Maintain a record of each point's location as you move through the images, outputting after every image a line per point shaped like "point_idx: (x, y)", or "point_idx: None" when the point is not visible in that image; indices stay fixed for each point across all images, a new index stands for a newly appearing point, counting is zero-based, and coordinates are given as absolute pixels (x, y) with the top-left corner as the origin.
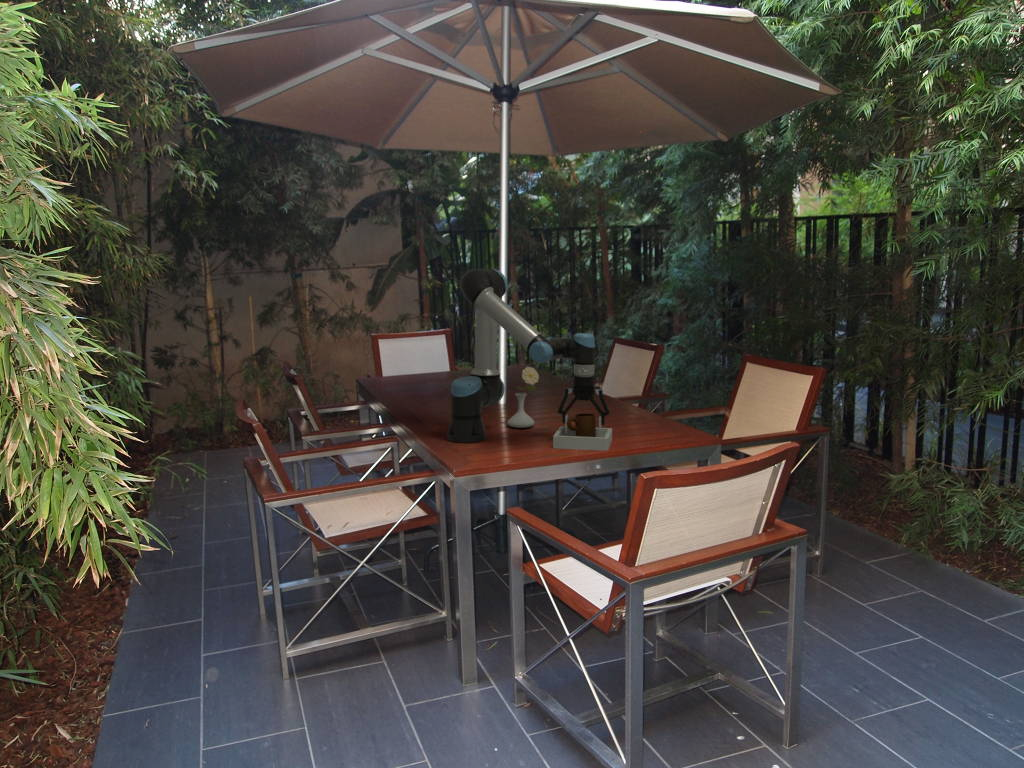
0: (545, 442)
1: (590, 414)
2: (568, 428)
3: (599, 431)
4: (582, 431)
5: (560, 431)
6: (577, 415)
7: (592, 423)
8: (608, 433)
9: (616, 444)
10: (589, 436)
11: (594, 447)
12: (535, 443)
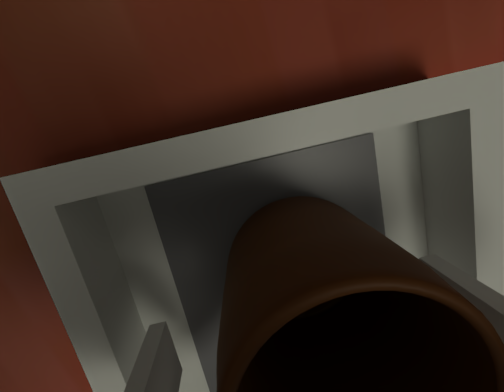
0: (49, 330)
1: (417, 291)
2: (106, 193)
3: None
4: (312, 371)
5: (118, 370)
6: (231, 387)
7: (426, 380)
8: (494, 275)
9: None
10: (349, 324)
11: None
12: (8, 377)
